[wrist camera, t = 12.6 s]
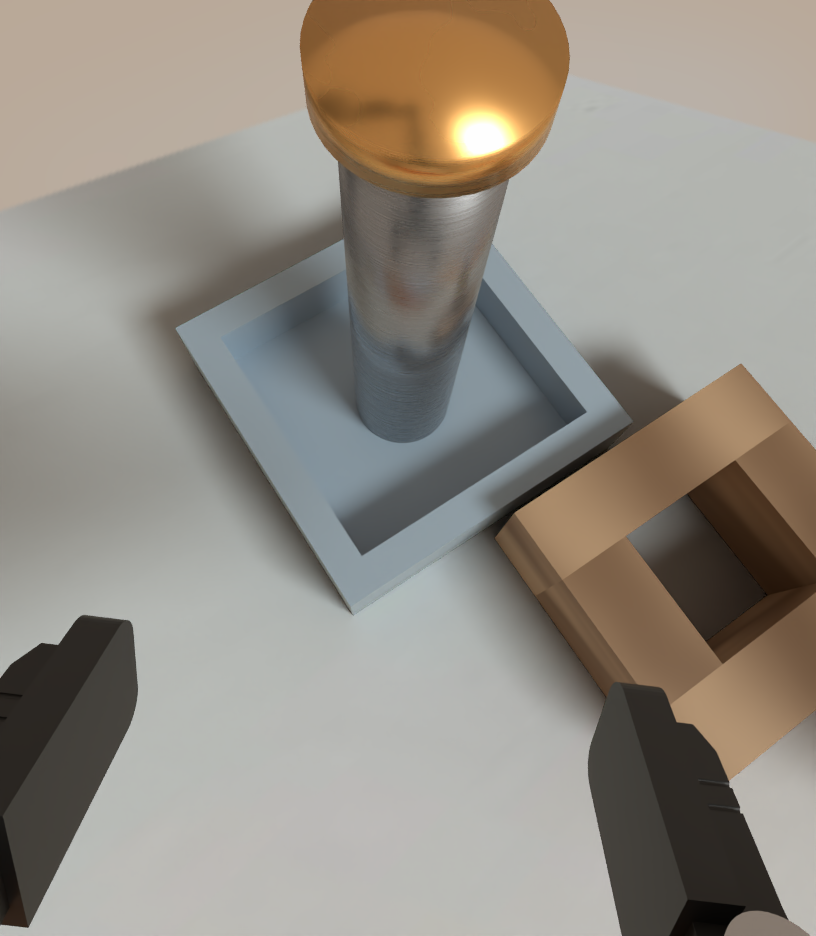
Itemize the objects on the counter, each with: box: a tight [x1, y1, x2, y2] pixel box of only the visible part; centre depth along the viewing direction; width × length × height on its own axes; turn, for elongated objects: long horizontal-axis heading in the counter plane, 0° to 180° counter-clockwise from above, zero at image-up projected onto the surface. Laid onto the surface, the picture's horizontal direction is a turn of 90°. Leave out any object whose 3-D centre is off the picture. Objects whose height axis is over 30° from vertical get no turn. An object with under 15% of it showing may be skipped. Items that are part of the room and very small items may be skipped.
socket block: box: [495, 364, 816, 780], centre depth 25 cm, size 10×10×4 cm
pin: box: [300, 0, 570, 443], centre depth 20 cm, size 5×5×16 cm
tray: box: [175, 239, 634, 615], centre depth 27 cm, size 12×12×3 cm
